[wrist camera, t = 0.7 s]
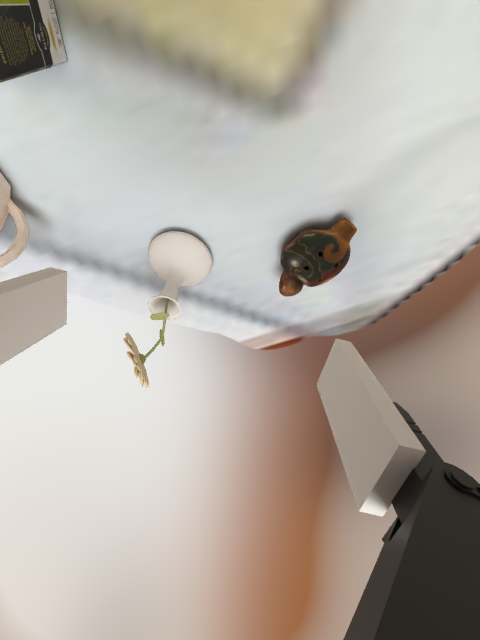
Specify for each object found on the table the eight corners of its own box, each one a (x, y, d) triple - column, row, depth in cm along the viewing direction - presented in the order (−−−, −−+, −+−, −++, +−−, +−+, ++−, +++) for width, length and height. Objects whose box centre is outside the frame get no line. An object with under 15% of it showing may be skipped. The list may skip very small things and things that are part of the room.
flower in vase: (155, 216, 47) (95, 333, 30) (221, 240, 49) (200, 360, 32) (145, 274, 56) (95, 389, 39) (201, 291, 58) (177, 406, 42)
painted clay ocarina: (261, 262, 52) (261, 288, 46) (321, 192, 43) (331, 213, 38) (301, 287, 56) (305, 315, 50) (364, 227, 47) (379, 252, 41)
